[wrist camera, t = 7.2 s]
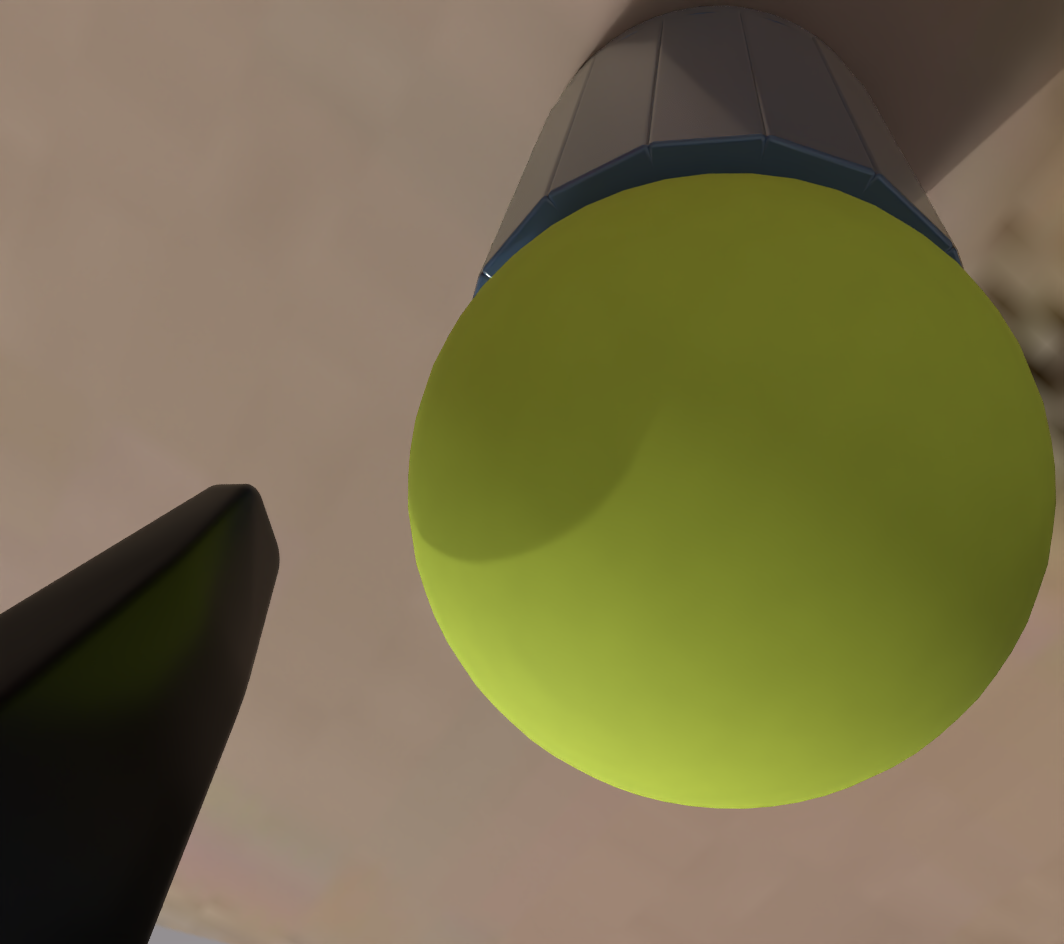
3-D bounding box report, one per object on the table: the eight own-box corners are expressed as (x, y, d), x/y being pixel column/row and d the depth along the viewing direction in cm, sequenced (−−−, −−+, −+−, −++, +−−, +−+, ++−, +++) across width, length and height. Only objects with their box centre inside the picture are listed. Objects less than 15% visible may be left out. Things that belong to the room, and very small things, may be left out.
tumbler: (864, 332, 18) (946, 587, 12) (554, 344, 19) (496, 585, 13) (896, -14, 15) (1026, 114, 9) (518, 24, 16) (419, 161, 10)
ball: (934, 533, 13) (1074, 970, 8) (504, 535, 14) (405, 924, 9) (1006, 70, 10) (1313, 354, 5) (434, 118, 11) (224, 389, 6)
